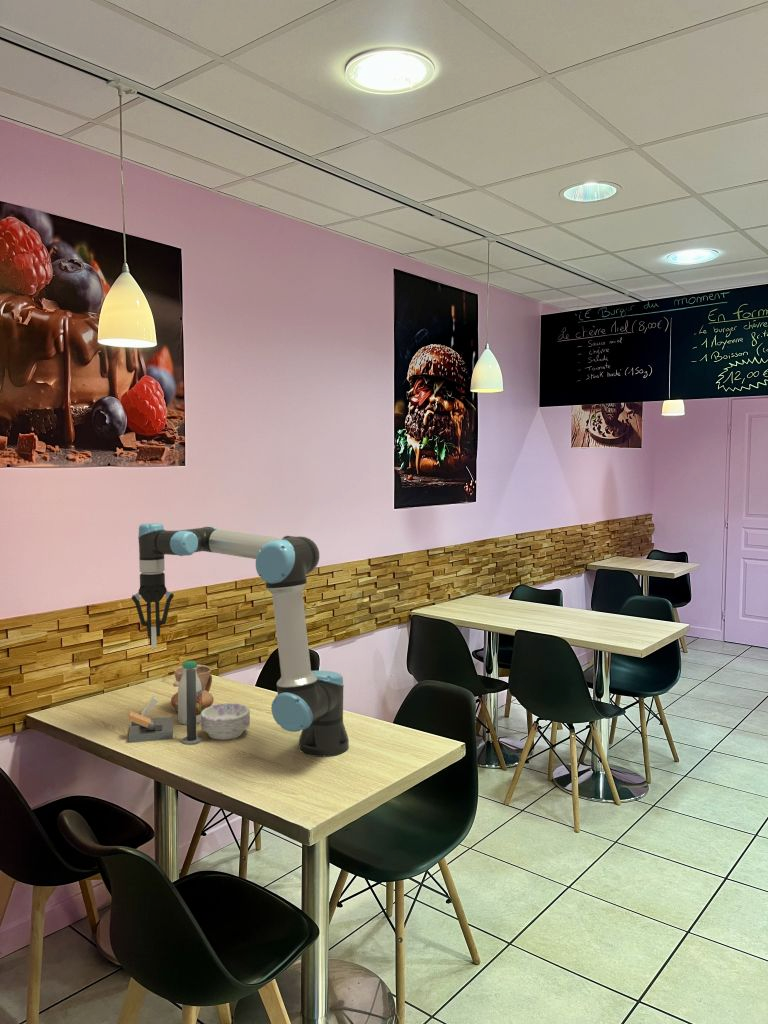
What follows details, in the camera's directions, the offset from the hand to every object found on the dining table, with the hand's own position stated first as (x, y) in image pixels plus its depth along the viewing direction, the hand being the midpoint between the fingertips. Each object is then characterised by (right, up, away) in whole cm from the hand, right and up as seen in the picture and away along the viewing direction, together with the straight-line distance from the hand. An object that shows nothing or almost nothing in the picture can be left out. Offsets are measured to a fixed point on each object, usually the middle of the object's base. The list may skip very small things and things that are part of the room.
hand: (154, 646), depth 239 cm
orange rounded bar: (0, -24, -1) cm, 24 cm away
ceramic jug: (+6, -26, +26) cm, 38 cm away
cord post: (+13, -28, -5) cm, 32 cm away
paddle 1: (-5, -24, +5) cm, 25 cm away
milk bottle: (+8, -27, +13) cm, 31 cm away
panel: (-1, -28, +2) cm, 28 cm away
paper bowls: (+22, -28, +1) cm, 36 cm away
